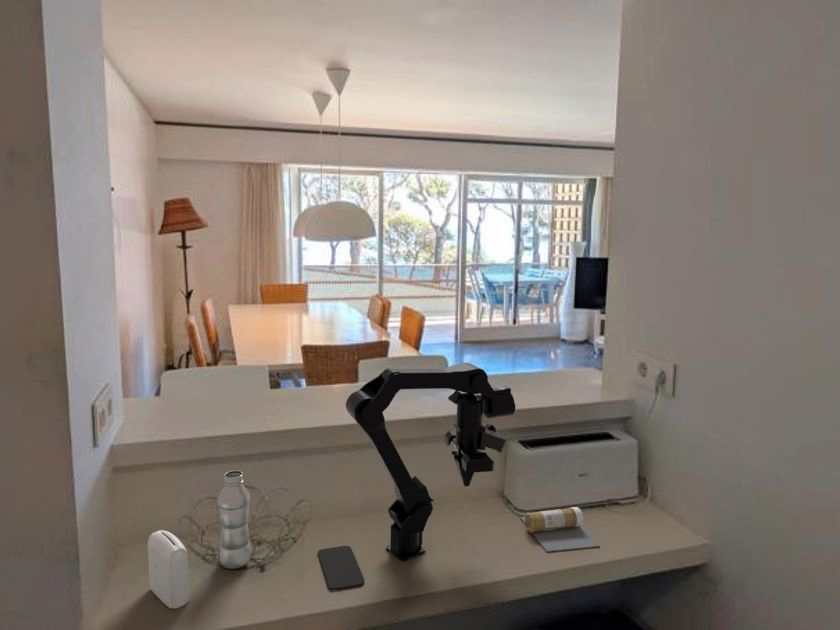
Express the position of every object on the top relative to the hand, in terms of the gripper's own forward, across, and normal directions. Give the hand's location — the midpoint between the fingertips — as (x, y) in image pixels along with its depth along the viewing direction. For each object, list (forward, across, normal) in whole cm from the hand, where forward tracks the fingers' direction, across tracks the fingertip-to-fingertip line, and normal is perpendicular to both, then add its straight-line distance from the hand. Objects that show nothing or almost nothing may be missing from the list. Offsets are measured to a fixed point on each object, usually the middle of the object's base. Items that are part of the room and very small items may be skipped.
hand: (466, 485), depth 135 cm
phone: (+14, -7, +29) cm, 33 cm away
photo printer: (+13, -10, +62) cm, 64 cm away
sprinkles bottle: (+11, 0, -16) cm, 19 cm away
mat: (+13, -1, -23) cm, 27 cm away
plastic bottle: (+13, -2, +51) cm, 52 cm away
